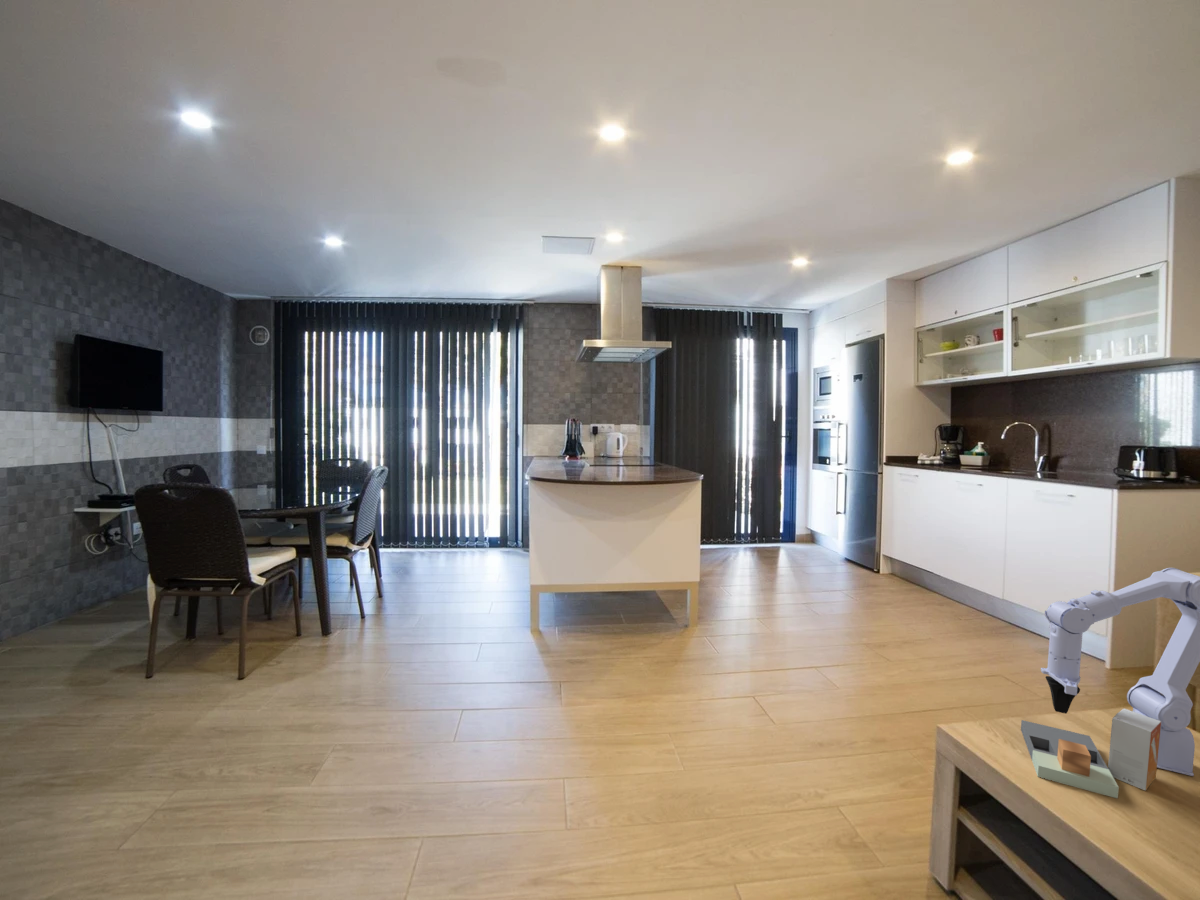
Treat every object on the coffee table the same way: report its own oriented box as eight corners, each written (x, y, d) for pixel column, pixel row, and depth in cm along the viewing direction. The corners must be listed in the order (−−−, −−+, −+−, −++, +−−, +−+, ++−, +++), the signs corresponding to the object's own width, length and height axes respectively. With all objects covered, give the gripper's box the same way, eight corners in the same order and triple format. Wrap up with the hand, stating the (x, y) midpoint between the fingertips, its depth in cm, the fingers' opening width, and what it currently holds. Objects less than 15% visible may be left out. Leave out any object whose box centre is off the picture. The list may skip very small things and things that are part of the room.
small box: (1146, 792, 114) (1151, 732, 114) (1106, 775, 120) (1111, 717, 119) (1157, 778, 119) (1162, 720, 118) (1117, 762, 124) (1122, 707, 123)
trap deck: (1088, 746, 130) (1089, 735, 130) (1117, 798, 112) (1118, 786, 112) (1020, 729, 137) (1021, 719, 137) (1037, 776, 119) (1038, 765, 118)
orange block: (1083, 765, 119) (1085, 745, 119) (1089, 776, 115) (1090, 756, 115) (1057, 758, 121) (1058, 738, 121) (1061, 769, 117) (1063, 749, 117)
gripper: (1035, 640, 136) (1032, 693, 136) (1050, 662, 123) (1046, 721, 124) (1072, 646, 132) (1068, 700, 133) (1091, 670, 119) (1086, 730, 120)
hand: (1060, 711), depth 128 cm, fingers closed
